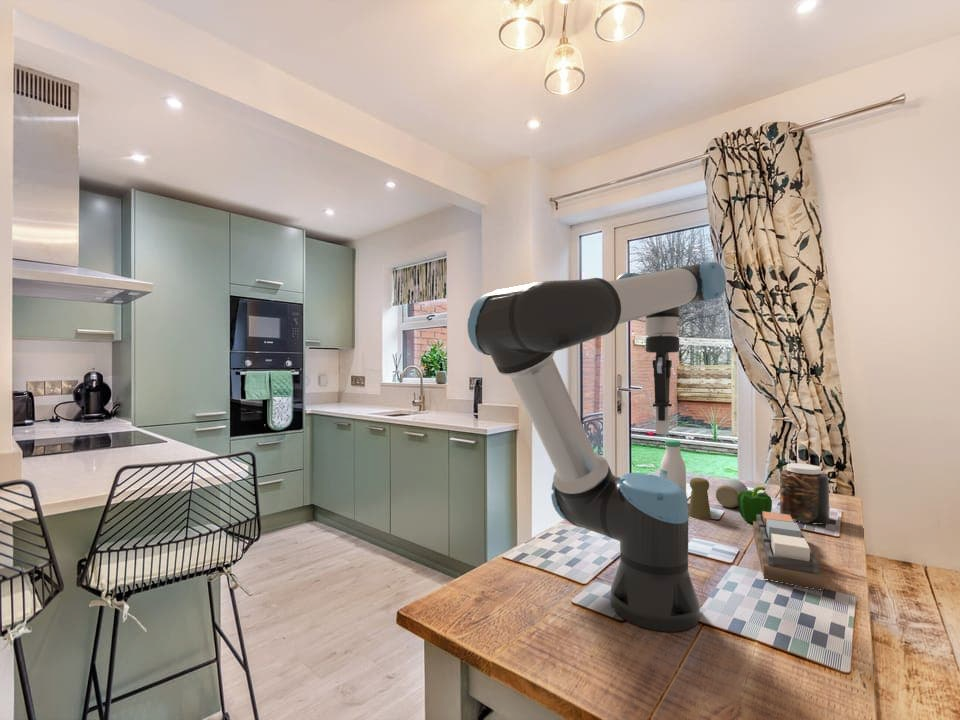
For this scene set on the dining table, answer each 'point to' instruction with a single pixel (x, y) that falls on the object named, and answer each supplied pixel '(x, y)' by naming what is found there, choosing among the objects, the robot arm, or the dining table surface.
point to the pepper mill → (699, 499)
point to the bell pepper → (753, 504)
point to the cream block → (790, 547)
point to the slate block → (782, 528)
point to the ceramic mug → (730, 493)
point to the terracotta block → (775, 517)
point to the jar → (804, 493)
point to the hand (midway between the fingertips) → (662, 433)
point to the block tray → (785, 562)
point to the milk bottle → (673, 464)
